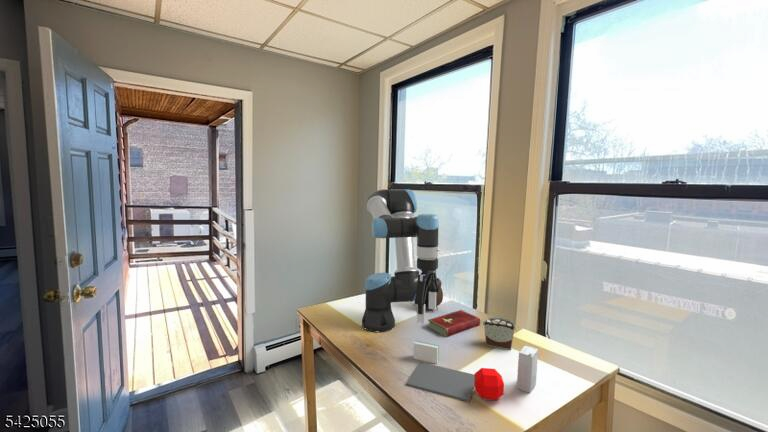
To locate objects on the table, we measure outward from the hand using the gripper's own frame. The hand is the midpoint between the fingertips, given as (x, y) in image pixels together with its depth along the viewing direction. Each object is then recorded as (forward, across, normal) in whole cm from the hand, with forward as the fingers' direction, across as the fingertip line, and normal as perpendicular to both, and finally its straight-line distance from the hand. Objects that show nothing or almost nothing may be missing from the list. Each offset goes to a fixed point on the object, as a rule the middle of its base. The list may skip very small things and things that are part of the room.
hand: (426, 315), depth 120 cm
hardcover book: (+17, +32, -3) cm, 37 cm away
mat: (+17, -11, -9) cm, 22 cm away
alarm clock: (+17, +48, +14) cm, 52 cm away
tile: (+17, 0, 0) cm, 17 cm away
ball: (+17, -12, -23) cm, 31 cm away
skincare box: (+17, -3, -34) cm, 38 cm away
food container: (+17, +23, -23) cm, 37 cm away
